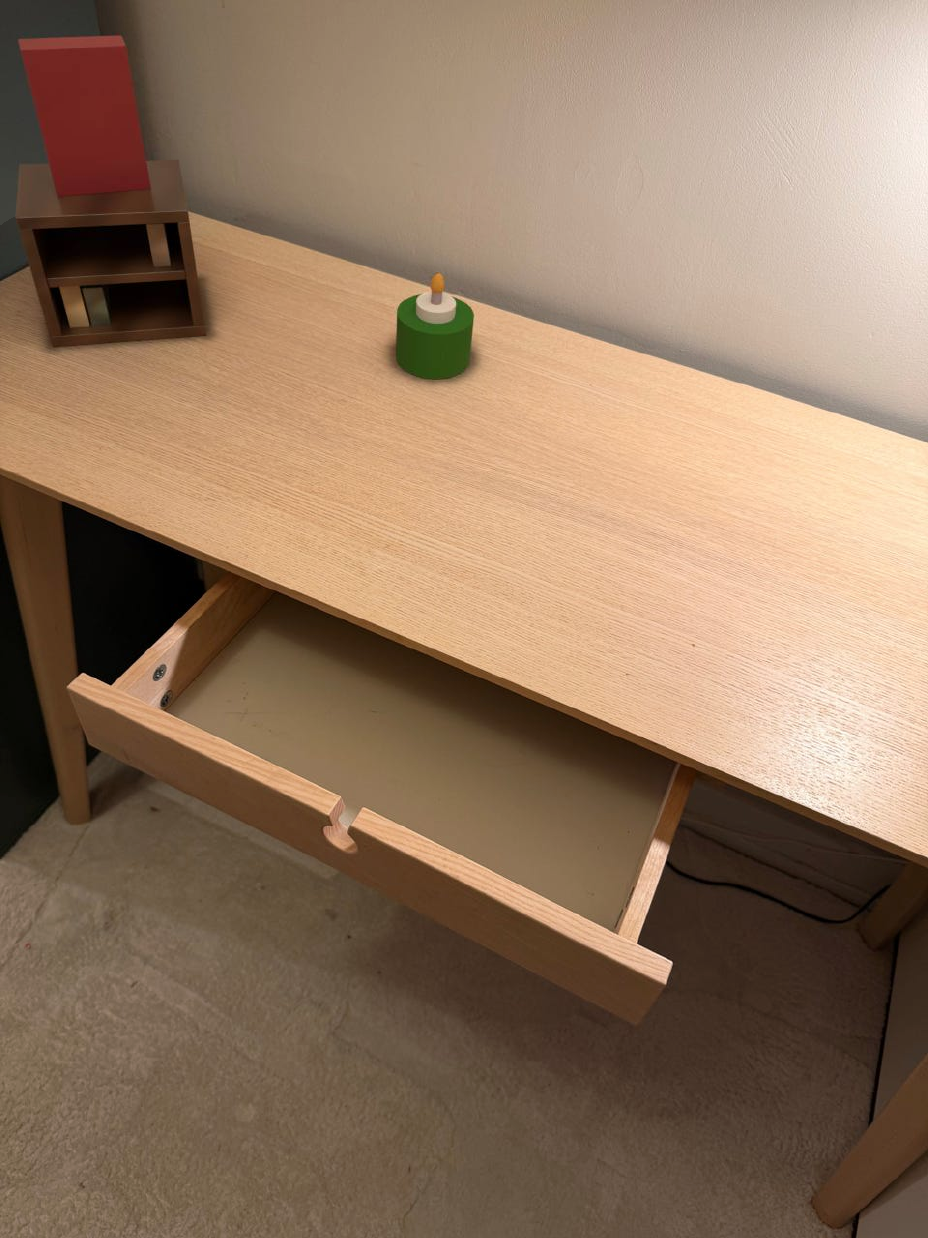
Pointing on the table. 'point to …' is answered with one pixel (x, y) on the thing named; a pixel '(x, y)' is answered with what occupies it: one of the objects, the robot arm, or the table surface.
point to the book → (86, 113)
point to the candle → (434, 333)
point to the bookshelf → (111, 258)
